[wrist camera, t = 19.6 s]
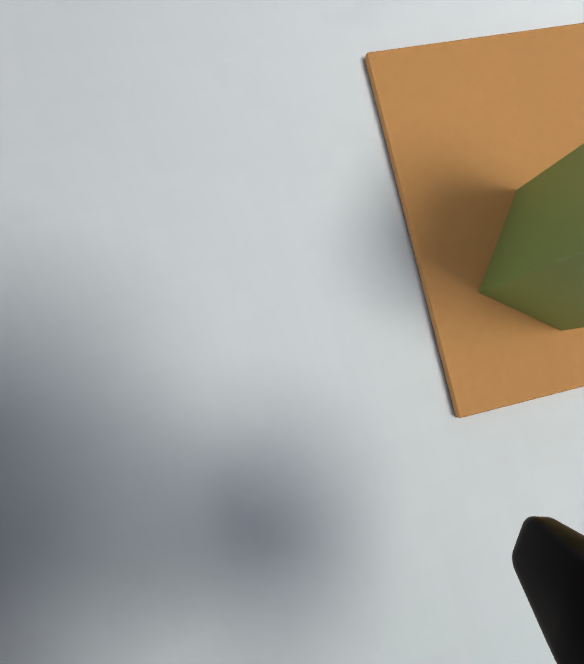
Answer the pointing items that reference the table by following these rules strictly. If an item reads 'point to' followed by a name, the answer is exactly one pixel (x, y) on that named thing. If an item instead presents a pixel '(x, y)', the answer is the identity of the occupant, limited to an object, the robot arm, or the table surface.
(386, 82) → the cork mat
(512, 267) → the olive green pillar
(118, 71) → the table surface
